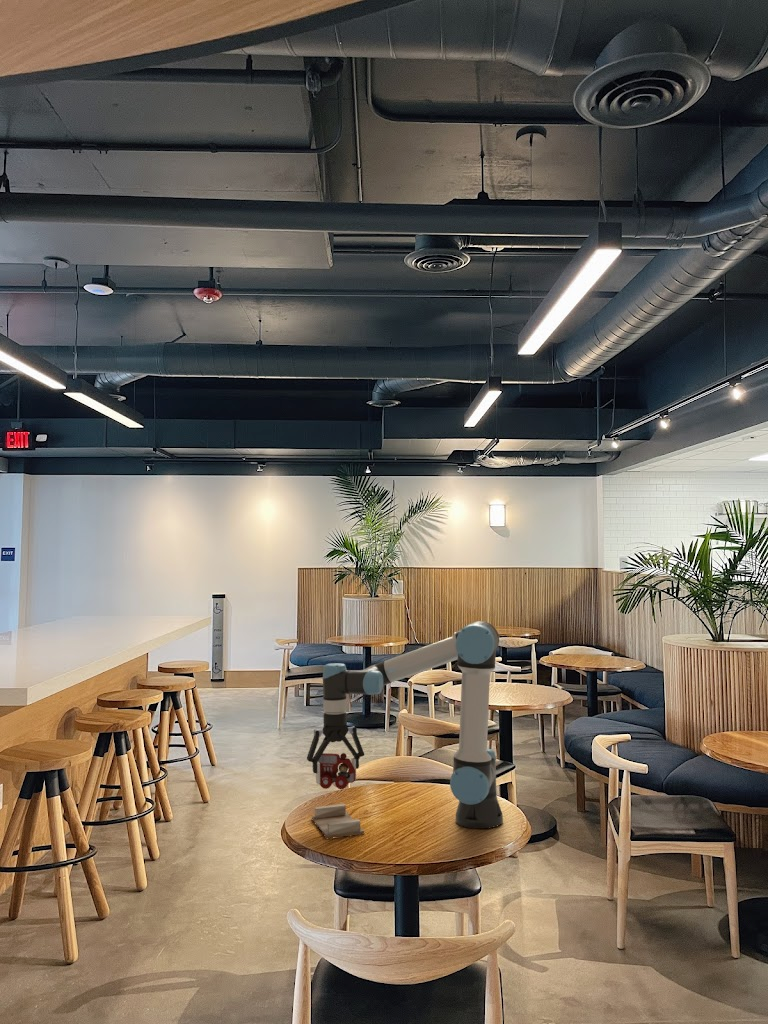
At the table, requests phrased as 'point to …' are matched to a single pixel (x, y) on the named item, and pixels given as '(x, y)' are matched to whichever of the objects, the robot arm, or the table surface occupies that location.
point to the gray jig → (336, 821)
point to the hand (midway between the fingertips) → (336, 781)
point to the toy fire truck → (335, 770)
